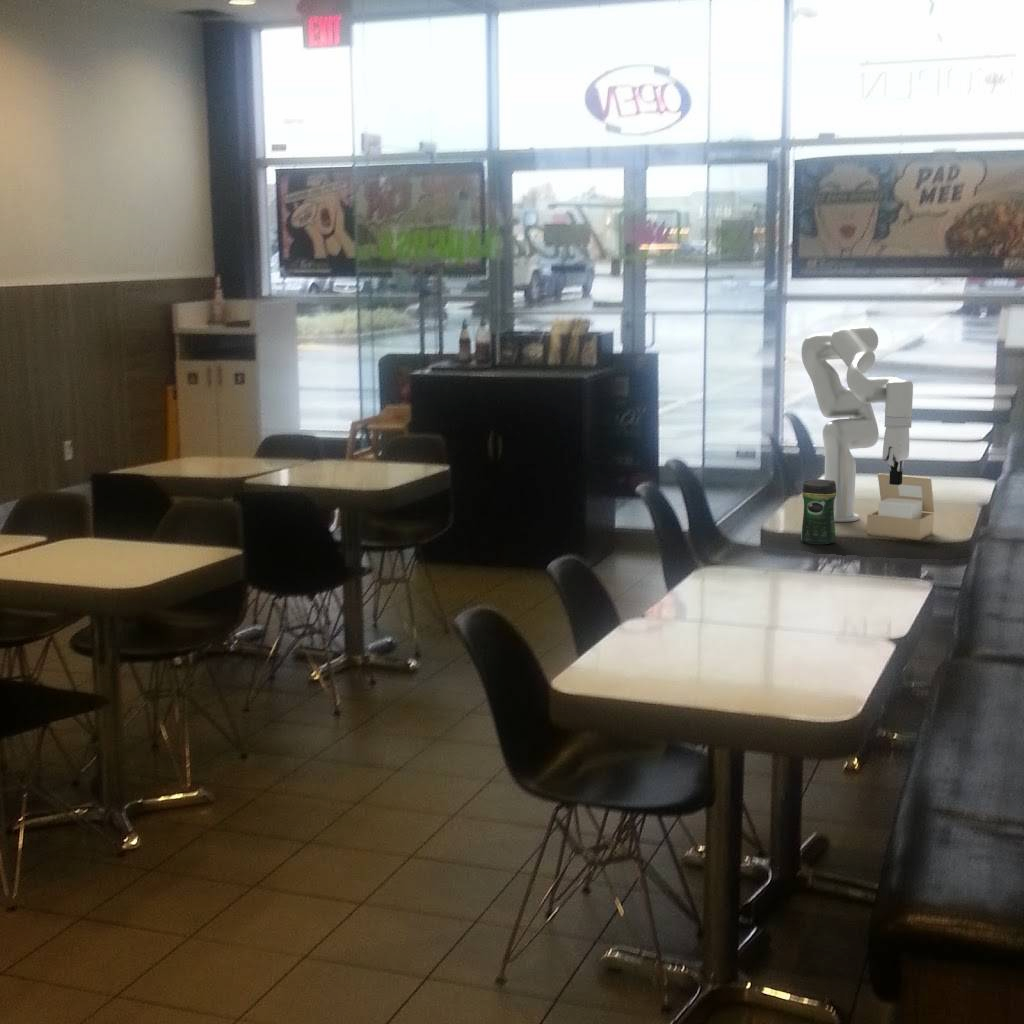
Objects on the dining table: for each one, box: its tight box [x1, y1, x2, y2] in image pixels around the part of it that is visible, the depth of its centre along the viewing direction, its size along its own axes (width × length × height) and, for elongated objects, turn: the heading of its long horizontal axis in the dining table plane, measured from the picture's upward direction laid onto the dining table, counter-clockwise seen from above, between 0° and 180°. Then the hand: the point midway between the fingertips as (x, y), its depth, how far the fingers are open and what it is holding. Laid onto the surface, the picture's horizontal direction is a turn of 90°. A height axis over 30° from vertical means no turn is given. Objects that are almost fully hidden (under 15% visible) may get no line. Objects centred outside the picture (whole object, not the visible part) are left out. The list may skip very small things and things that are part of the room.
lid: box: [877, 472, 935, 513], centre depth 401 cm, size 16×12×1 cm
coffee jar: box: [800, 478, 837, 545], centre depth 388 cm, size 10×8×19 cm
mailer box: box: [866, 497, 935, 541], centre depth 399 cm, size 16×12×10 cm
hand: (895, 484), depth 392 cm, fingers closed
